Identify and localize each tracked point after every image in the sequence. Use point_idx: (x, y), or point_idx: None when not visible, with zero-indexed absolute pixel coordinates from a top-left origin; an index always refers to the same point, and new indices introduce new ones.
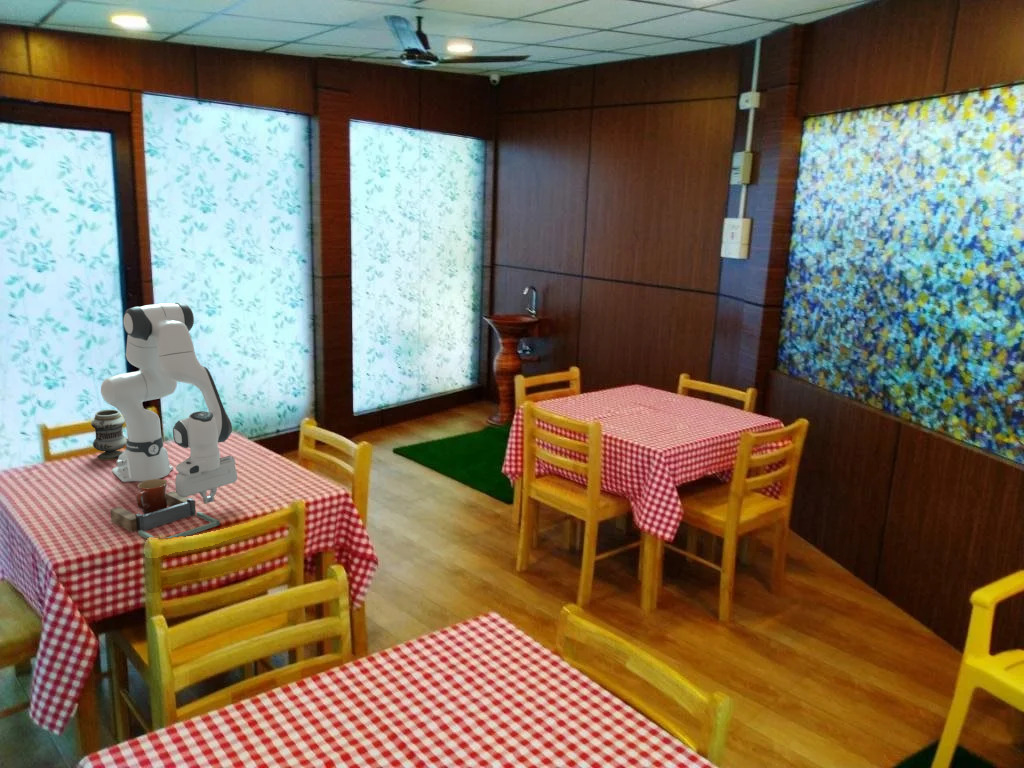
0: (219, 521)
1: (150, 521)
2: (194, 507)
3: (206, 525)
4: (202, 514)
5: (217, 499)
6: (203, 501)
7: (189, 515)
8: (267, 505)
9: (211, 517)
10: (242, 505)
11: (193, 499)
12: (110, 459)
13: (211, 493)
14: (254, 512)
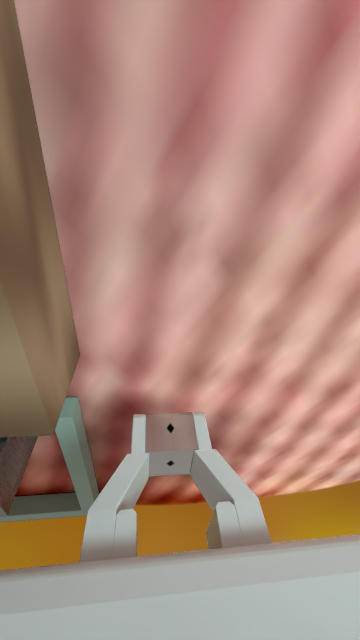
0: None
1: None
2: (34, 439)
3: (33, 518)
4: (68, 451)
5: (332, 267)
6: (133, 420)
7: None
8: (333, 466)
9: (88, 487)
10: (297, 424)
11: (2, 513)
12: None
13: (207, 481)
14: (254, 482)
